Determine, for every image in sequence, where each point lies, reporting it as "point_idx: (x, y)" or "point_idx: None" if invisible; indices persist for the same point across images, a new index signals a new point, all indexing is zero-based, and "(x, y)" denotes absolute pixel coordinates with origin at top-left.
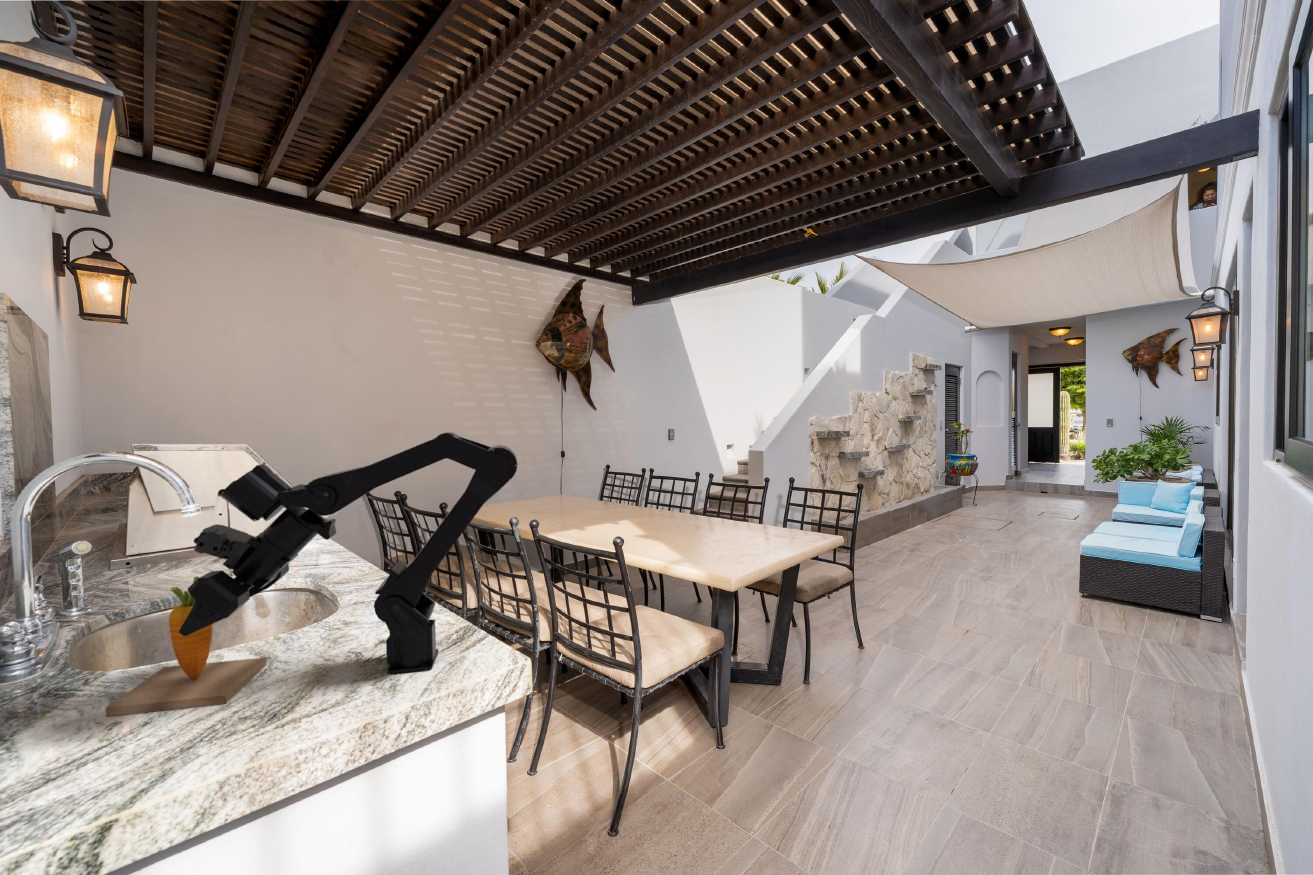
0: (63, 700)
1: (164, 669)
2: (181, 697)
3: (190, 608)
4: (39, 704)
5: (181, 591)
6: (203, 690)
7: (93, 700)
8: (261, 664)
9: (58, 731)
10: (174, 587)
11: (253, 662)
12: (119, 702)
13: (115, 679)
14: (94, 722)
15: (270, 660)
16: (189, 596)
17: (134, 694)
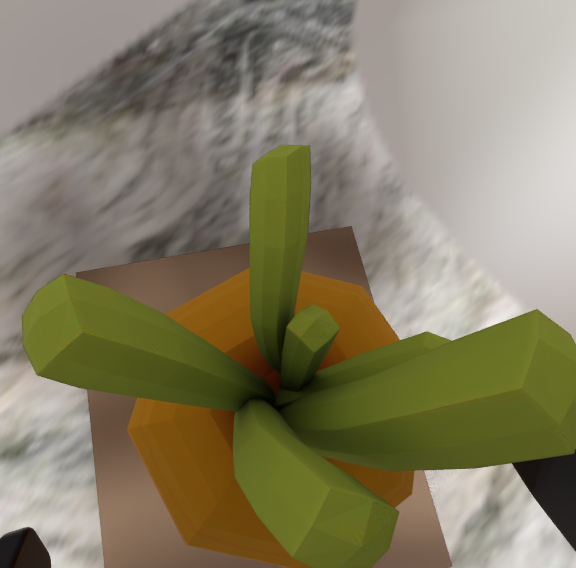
0: (198, 96)
1: (334, 241)
2: (116, 483)
3: (193, 484)
4: (181, 60)
5: (164, 383)
6: (167, 527)
7: (192, 168)
8: None
9: (16, 220)
10: (70, 305)
11: (404, 544)
12: (109, 285)
13: (313, 127)
14: (54, 276)
15: (473, 540)
16: (238, 445)
17: (162, 287)
